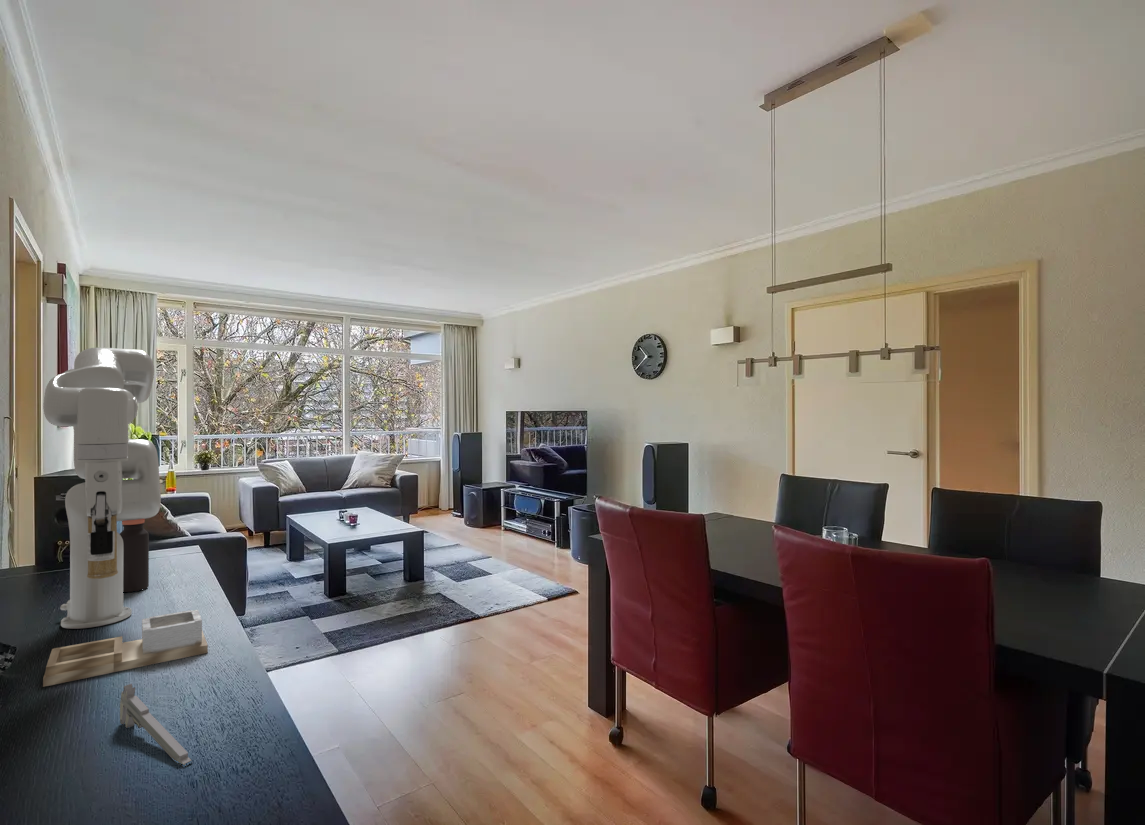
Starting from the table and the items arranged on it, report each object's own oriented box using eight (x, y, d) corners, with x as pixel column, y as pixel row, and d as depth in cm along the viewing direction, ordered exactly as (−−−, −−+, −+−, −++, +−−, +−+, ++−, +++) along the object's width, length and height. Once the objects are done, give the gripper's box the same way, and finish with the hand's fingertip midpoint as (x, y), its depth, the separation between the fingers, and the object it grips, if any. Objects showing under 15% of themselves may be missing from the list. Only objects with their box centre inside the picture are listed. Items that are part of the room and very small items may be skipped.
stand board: (43, 686, 101) (43, 669, 101) (50, 664, 110) (50, 647, 110) (207, 652, 115) (207, 637, 115) (201, 635, 125) (201, 620, 125)
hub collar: (142, 655, 110) (142, 631, 110) (141, 640, 118) (142, 618, 118) (202, 644, 116) (202, 620, 116) (197, 630, 123) (197, 609, 123)
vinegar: (154, 587, 162) (155, 513, 162) (130, 594, 156) (131, 517, 156) (135, 585, 164) (135, 513, 164) (110, 592, 157) (111, 517, 157)
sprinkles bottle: (120, 572, 114) (120, 502, 114) (113, 577, 109) (113, 505, 110) (91, 574, 112) (91, 503, 112) (82, 580, 108) (83, 506, 108)
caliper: (119, 726, 88) (119, 684, 88) (128, 723, 89) (127, 681, 89) (184, 770, 77) (183, 721, 77) (193, 765, 78) (193, 717, 78)
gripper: (126, 455, 106) (126, 556, 106) (129, 451, 120) (129, 541, 120) (72, 456, 102) (71, 563, 102) (81, 452, 116) (81, 546, 115)
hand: (102, 550), depth 111 cm, fingers closed on sprinkles bottle, 4 cm apart
